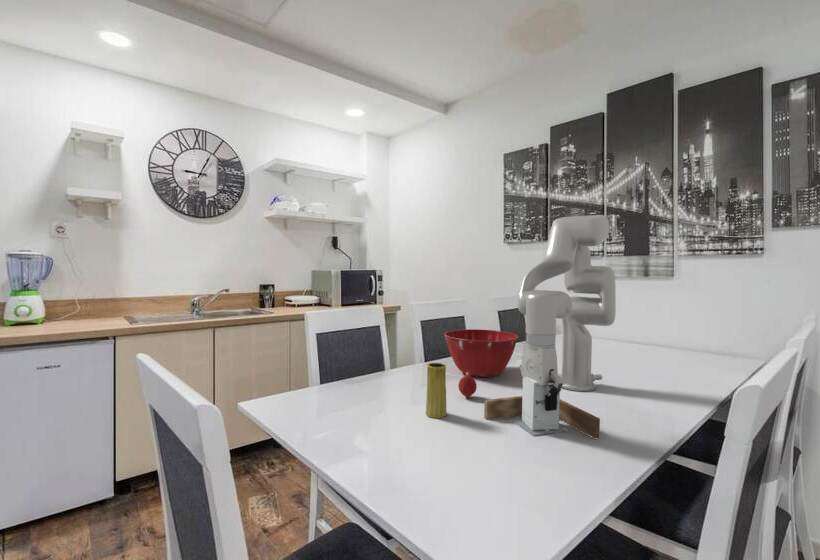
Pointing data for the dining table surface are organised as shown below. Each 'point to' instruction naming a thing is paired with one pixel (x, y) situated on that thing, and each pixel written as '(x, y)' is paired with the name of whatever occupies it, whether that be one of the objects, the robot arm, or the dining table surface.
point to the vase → (436, 390)
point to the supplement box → (538, 407)
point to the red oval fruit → (467, 385)
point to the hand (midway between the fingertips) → (539, 403)
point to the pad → (537, 432)
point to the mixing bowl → (481, 350)
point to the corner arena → (566, 414)
